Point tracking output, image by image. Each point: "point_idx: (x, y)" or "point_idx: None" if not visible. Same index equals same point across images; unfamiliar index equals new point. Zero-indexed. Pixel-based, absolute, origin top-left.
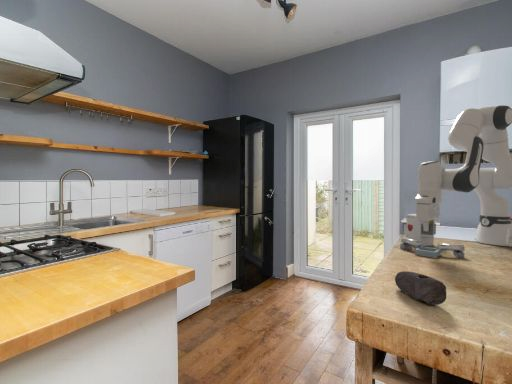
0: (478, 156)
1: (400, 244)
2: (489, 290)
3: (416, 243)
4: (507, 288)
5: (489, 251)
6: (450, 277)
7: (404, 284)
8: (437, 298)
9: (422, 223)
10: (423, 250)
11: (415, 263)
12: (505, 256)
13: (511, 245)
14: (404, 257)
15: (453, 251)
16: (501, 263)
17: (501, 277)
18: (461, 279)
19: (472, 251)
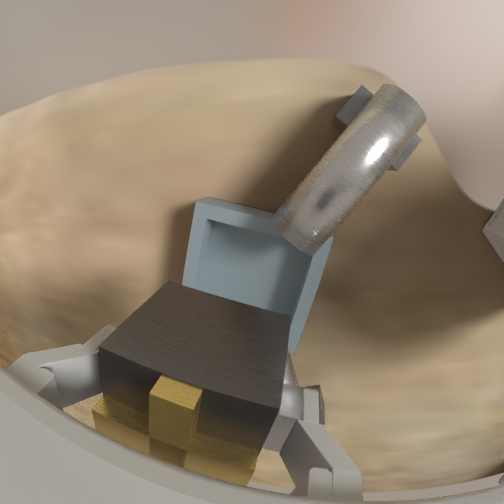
0: None
1: (360, 87)
2: (3, 359)
3: (279, 211)
4: None
5: (441, 463)
6: (7, 310)
7: None
8: None
9: (120, 366)
10: (187, 255)
11: (49, 216)
12: (376, 489)
13: (500, 481)
14: (109, 153)
15: (319, 398)
16: (260, 476)
17: (92, 422)
18: (13, 331)
19: (431, 435)
